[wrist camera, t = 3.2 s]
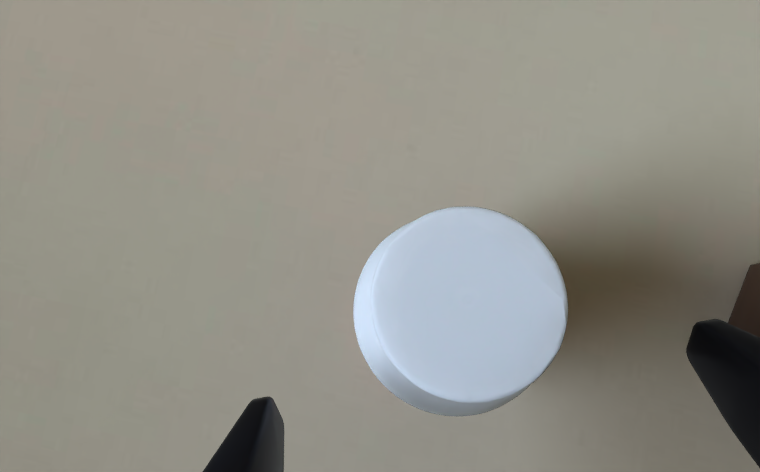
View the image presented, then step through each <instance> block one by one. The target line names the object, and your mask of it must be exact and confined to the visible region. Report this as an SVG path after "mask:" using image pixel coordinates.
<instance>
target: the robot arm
mask: <svg viewBox="0 0 760 472" xmlns="http://www.w3.org/2000/svg"><path fill="white" fill-rule="evenodd" d="M686 353H687V357H688V359H689V361H690V363H691V365H692V366H693V368H694V370H695V371H696V373H697V375H698V376H699V378H700V379H701V381H702V383H703V384H704V386H705V388H706V389H707V391H708V393H709V394H710V396H711V397H712V399H713V401H714V402H715V404H716V406H717V407H718V409H719V411H720V412H721V414H722V416H723V417H724V419H725V420H726V422H727V423H728V425H729V426H730V428H731V429H732V431H733V432H734V434H735V435H736V436H737V438H738V439H739V441H740V442H741V443H742V445H743V446H744V447H745V449H746V450H747V451H748V453H749V454H750V455H751V457H752V458H753V459H754V461H755V462H756V464H757V465H758V466H759V468H760V337H757V336H755V335H753V334H751V333H749V332H746V331H744V330H742V329H740V328H738V327H735V326H733V325H731V324H729V323H727V322H724V321H722V320H718V319H711V320H706V321H700V322H697V323H696V324H695V325H694V326H693V329H692V332H691V335H690V338H689V342H688V345H687V348H686ZM203 472H284V423H283V419H282V417H281V415H280V413H279V410H278V408H277V406H276V404H275V402H274V400H273V398H271V397H263V398H257V399H254V400H252V401H251V402H250V403H249V404H248V406H247V407H246V409H245V410H244V412H243V413H242V415H241V416H240V418H239V419H238V420H237V422H236V423H235V425H234V426H233V428H232V429H231V431H230V432H229V434H228V435H227V437H226V438H225V440H224V441H223V443H222V444H221V446H220V447H219V449H218V450H217V451H216V453H215V454H214V456H213V457H212V459H211V460H210V462H209V463H208V465H207V466H206V468H205V469H204V471H203Z"/></svg>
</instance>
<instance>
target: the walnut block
mask: <svg viewBox="0 0 760 472" xmlns="http://www.w3.org/2000/svg"><path fill="white" fill-rule="evenodd" d="M728 323H729V324H731V325H733V326H735V327H738V328H740V329H742V330H744V331H746V332H749V333H751V334H753V335H755V336H757V337H760V263H759V264H754V265H751V266H750V268H749V270H748V273H747V275H746V278H745V281H744V283H743V286H742V288H741V291H740V294H739V296H738V299H737V301H736V304H735V306H734V309H733V312H732V314H731V317H730V319H729V322H728Z"/></svg>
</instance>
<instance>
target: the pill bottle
mask: <svg viewBox="0 0 760 472" xmlns="http://www.w3.org/2000/svg"><path fill="white" fill-rule="evenodd" d="M567 317H568V301H567V293H566V288H565V283H564V280H563V277H562V274H561V271H560V269H559V266H558V264H557V262H556V260H555V259H554V257H553V256H552V254H551V253H550V251H549V250H548V248H547V247H546V246H545V244H544V243H543V242H542V241H541V240H540V238H539V237H538V236H536V235H535V234H534V233H533V232H532V231H531V230H530V229H528V228H527V227H526V226H524V225H523V224H522V223H520V222H519V221H517V220H515V219H513V218H511V217H510V216H507V215H505V214H503V213H500V212H497V211H494V210H490V209H486V208H481V207H450V208H445V209H440V210H436V211H434V212H431V213H428V214H426V215H424V216H422V217H420V218H418V219H417V220H415V221H413V222H410V223H408V224H406V225H404V226H403V227H401V228H399V229H398V230H396V231H395V232H393V233H392V234H390V235H389V236H388V237H387V238H386V239H384V240H383V241H382V242H381V243H380V244H379V246H378V247H377V248H376V249H375V250H374V251H373V253H372V254H371V256H370V257H369V259H368V261H367V263H366V264H365V266H364V268H363V270H362V273H361V275H360V278H359V280H358V284H357V288H356V292H355V298H354V325H355V331H356V335H357V340H358V343H359V346H360V349H361V351H362V353H363V356H364V358H365V360H366V361H367V363H368V365H369V367H370V368H371V370H372V371H373V373H374V374H375V375H376V377H377V378H378V379H379V380H380V382H381V383H382V384H383V385H384V386H385V387H386V388H387V389H388V390H389V391H390V392H392V393H393V394H394V395H396V396H397V397H398V398H400V399H401V400H403V401H404V402H406V403H408V404H410V405H412V406H414V407H416V408H418V409H421V410H424V411H427V412H430V413H434V414H439V415H445V416H470V415H477V414H481V413H485V412H488V411H491V410H493V409H496V408H498V407H500V406H502V405H504V404H506V403H508V402H509V401H511V400H513V399H514V398H516V397H517V396H518V395H520V394H521V393H522V392H523V391H524V390H525V389H527V388H528V387H529V386H530V385H531V383H533V382H534V381H535V380H536V379H537V378H538V377H539V376H541V375H542V374H543V373H544V371H545V370H546V369H547V368H548V366H549V365H550V364H551V362H552V361H553V359H554V358H555V356H556V354H557V353H558V351H559V349H560V346H561V344H562V341H563V338H564V334H565V329H566V325H567Z"/></svg>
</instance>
